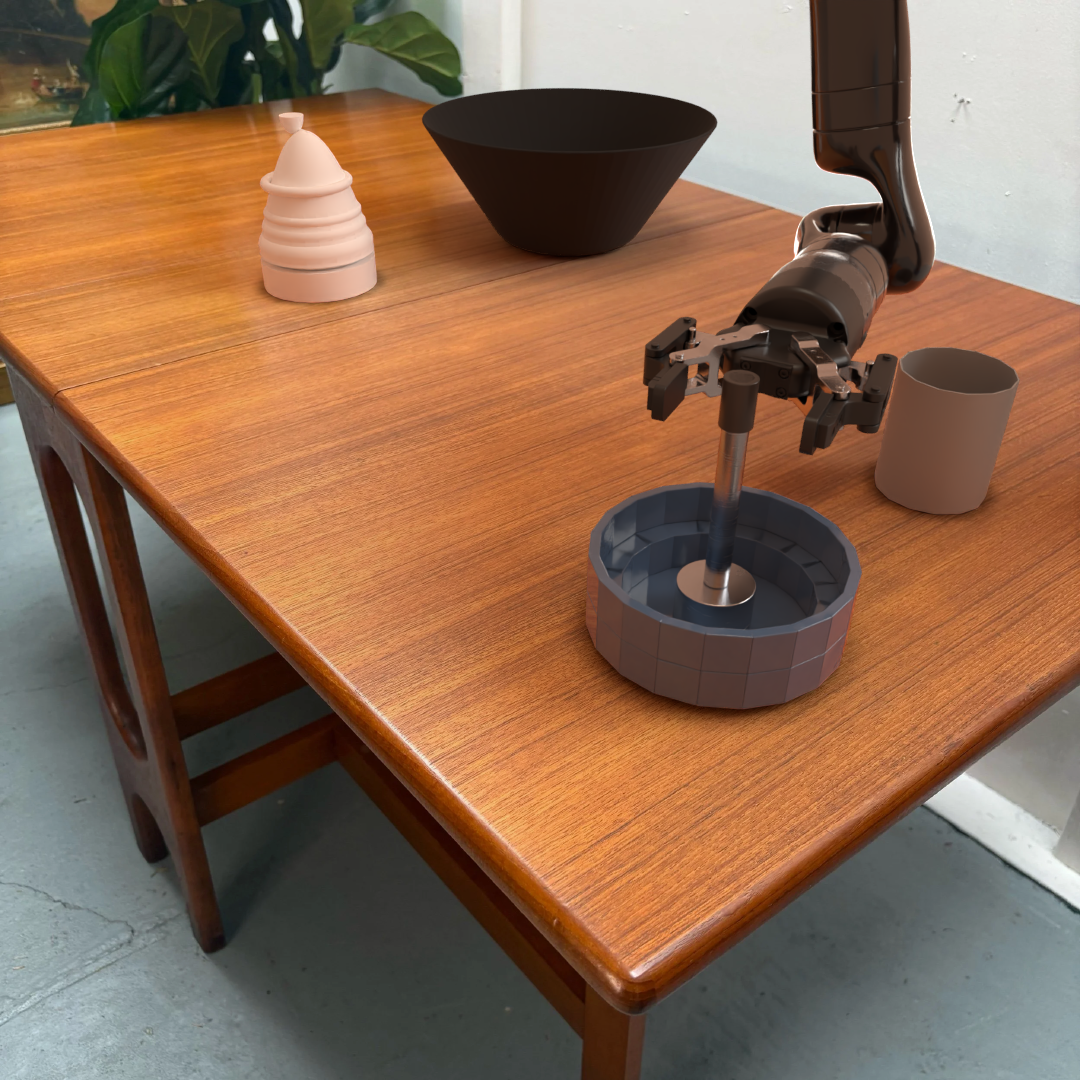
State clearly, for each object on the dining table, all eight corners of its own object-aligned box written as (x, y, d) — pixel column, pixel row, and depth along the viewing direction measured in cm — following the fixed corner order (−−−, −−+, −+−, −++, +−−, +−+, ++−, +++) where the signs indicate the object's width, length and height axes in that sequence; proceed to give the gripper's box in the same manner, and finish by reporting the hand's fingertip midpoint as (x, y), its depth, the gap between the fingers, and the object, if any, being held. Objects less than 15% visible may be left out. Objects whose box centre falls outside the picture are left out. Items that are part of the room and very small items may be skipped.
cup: (852, 482, 81) (876, 366, 75) (911, 450, 85) (938, 338, 80) (947, 526, 76) (981, 405, 70) (1005, 490, 80) (1041, 373, 74)
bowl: (738, 220, 139) (751, 102, 130) (650, 307, 112) (660, 166, 103) (505, 188, 151) (503, 79, 142) (375, 260, 124) (364, 131, 116)
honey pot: (243, 282, 118) (215, 117, 108) (334, 256, 126) (316, 100, 115) (306, 311, 111) (283, 137, 100) (399, 282, 118) (387, 117, 108)
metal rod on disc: (747, 598, 67) (783, 360, 58) (753, 646, 63) (792, 399, 54) (672, 593, 68) (694, 356, 58) (672, 641, 64) (697, 395, 54)
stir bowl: (826, 562, 72) (840, 489, 68) (862, 726, 58) (882, 646, 55) (594, 547, 73) (597, 475, 70) (577, 705, 60) (579, 625, 56)
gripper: (710, 249, 68) (613, 334, 56) (931, 283, 63) (875, 385, 51) (700, 353, 72) (608, 453, 60) (906, 394, 67) (849, 512, 55)
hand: (730, 422), depth 56 cm, fingers open, 8 cm apart
